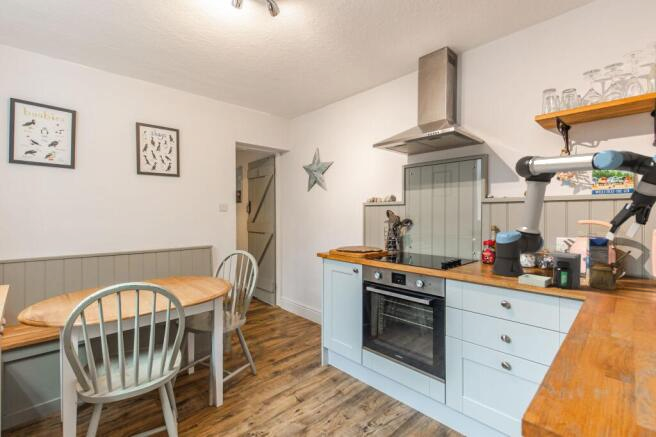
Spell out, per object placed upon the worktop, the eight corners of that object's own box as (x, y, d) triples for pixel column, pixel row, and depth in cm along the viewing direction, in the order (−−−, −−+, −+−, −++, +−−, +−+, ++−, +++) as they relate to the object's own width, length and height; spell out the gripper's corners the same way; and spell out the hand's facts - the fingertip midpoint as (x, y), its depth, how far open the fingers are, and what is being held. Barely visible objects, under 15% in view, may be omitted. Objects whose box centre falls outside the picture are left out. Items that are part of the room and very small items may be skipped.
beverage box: (588, 283, 145) (589, 238, 144) (585, 279, 154) (586, 236, 153) (607, 286, 141) (609, 239, 140) (603, 281, 150) (604, 237, 149)
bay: (546, 287, 138) (547, 253, 138) (553, 283, 145) (554, 251, 145) (573, 291, 130) (574, 256, 130) (580, 287, 137) (581, 253, 137)
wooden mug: (630, 293, 128) (631, 251, 128) (588, 287, 138) (589, 248, 138) (629, 289, 135) (631, 249, 134) (590, 284, 144) (591, 246, 144)
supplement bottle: (567, 290, 132) (568, 263, 132) (550, 286, 138) (550, 261, 138) (575, 288, 136) (575, 262, 135) (557, 285, 142) (558, 259, 141)
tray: (518, 283, 145) (518, 276, 145) (526, 280, 152) (526, 273, 152) (544, 287, 137) (544, 280, 137) (551, 284, 144) (551, 277, 144)
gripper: (637, 197, 115) (609, 244, 125) (677, 195, 123) (647, 239, 132) (616, 190, 121) (590, 235, 131) (655, 188, 129) (628, 231, 139)
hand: (619, 237), depth 132 cm, fingers open, 13 cm apart
